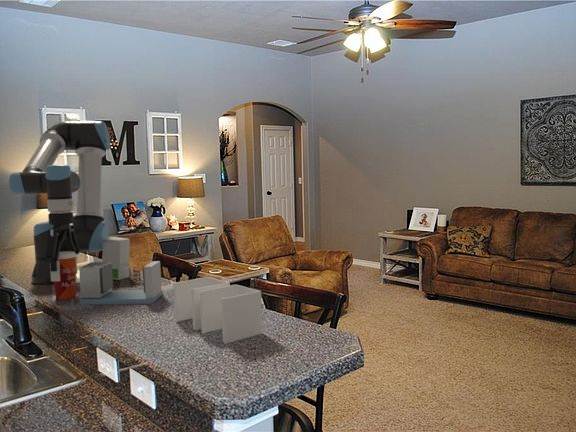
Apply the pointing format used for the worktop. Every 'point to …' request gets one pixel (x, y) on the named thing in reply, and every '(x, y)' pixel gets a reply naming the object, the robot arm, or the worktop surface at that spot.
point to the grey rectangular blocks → (219, 307)
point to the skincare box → (117, 256)
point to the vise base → (134, 296)
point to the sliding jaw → (96, 279)
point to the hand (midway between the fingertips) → (64, 277)
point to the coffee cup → (66, 276)
